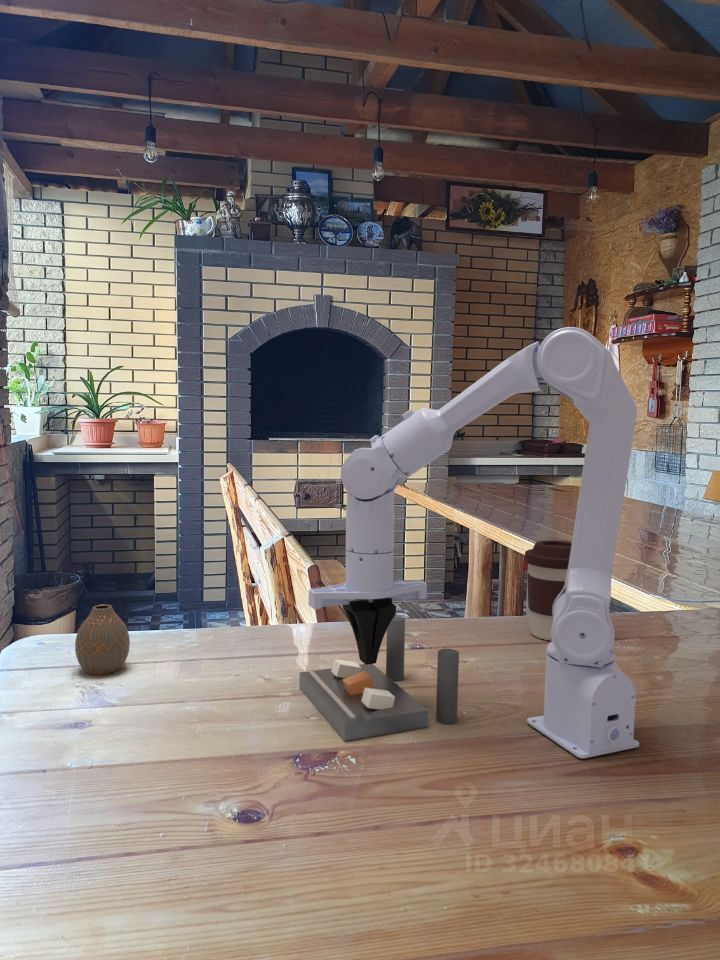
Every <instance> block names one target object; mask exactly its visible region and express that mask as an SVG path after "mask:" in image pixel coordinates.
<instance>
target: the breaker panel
mask: <svg viewBox="0 0 720 960" xmlns="http://www.w3.org/2000/svg"><path fill="white" fill-rule="evenodd" d="M358 665H359V666H360V667H361V671H360V672H362V671H366V672H367V673H368V674H369V675H370V676H371V678H372V682H373V686H374V689H379V690H386V691H389V692H390V693H391V694H392V695H393V696H394V697H395V700H394V704H393V708H386V709H372V708H368V707H367V706H366V705H365V704H364V703H363V702H362V701H361V700H362V696H363V693H360V694H353V695H350V694H349V693H348V692H347V691H346V690H345V688H344V684H343V681H342V680H343V679H345V678H341V677H336V676H335V675H334V674H333V673H332V672H331V670H332V667H331V668H324V669H316V670H313V669H310V670H307V671H300V672H299V689H300V690H301V691H302V693H303V694H304V695H305V697H307V698H308V699H309V701H310V702H311V703H312V705H314V707H315V708H316V710H318V711H319V713H320V714H321V715H322V717H324V719H325V720H326V721H327V723H329V725H330V726H331V727H332V728H333V729H334V732H336V733H337V734H338V736H340V738H341V739H342V740H343V742H349V741H355V740H356V741H357V740H361V739H366V738H367V739H368V738H372V737H373V738H374V737H379V736H384V735H390V734H396V733H401V732H407V731H413V730H419V729H420V730H421V729H425V728H428V721H429V718H428V716H429V710H428V709H427V708H426V707H425V706H424V705H422V704H421V703H420V702H419V701H418V700H417V699H416V698H414V697H413V696H412V695H411V694H409V693H408V692H406V690H404V689H403V688H402V687H401V686H399V684H397V683H396V681H392V680H391V679H390V678H389V677H388V676H386V673H384V672H383V671H381V670H380V669H379V668H378V667H377V666H376V665H374V664H368V665H366V664H364V663H363V664H358Z"/></svg>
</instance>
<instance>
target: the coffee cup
mask: <svg viewBox="0 0 720 960" xmlns="http://www.w3.org/2000/svg"><path fill="white" fill-rule="evenodd" d="M571 545H572V541H565V540H555V539H554V540H553V539H551V540H548V539H545V540H539V541H536V542H535V543H534V545H533V547H532V548H529V549H527V550H525V552H524V561H525V562H526V564H528V565H527V566H528V572H527V577H526V579H527V605H528V609H529V627H530V628H529V630H530V631H529V632H530V633H531V635H532V636H534V637H535V638H537V639H540V640H543V639H544V640H543V641H548V640H549V641H550V642H552V637H551V628H552V624H553V615H552V608H553V604H554V601H555V599H556V597H557V596H558V595H559V594H560V592H561V591H562V589H563V587H564V584H565V579H566V573H567V569H568V564H569V558H570V551H571Z"/></svg>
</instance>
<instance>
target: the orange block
mask: <svg viewBox="0 0 720 960" xmlns="http://www.w3.org/2000/svg"><path fill="white" fill-rule="evenodd" d="M342 681H343V684H344V688H345V690H346V691H347V692H348V693H349V694H350V695H353V694H360V693H364V689H365V688H372V689H374V686H373V682H372V678H371V676H370V675H369V674H368V673H367V672H366V671H362V672H360V673H357V674H355V675H352V676H350V677H348V678H345V679H343V680H342Z"/></svg>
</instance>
